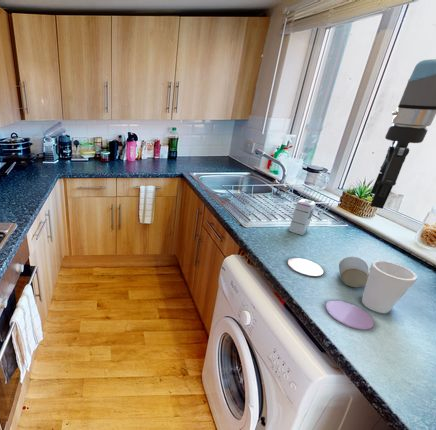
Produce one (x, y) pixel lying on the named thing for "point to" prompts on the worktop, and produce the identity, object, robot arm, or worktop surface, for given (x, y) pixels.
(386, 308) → the foam cup
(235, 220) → the worktop surface
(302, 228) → the syrup box
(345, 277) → the ceramic mug
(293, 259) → the cork coaster
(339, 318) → the lilac coaster
